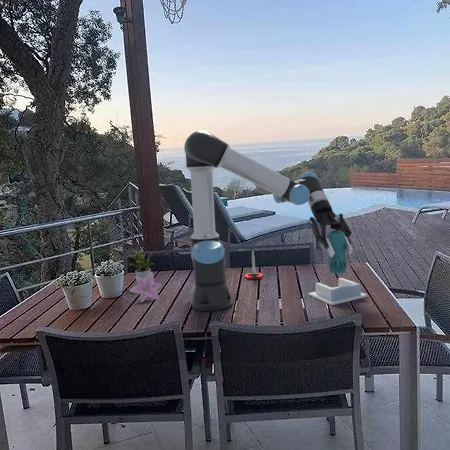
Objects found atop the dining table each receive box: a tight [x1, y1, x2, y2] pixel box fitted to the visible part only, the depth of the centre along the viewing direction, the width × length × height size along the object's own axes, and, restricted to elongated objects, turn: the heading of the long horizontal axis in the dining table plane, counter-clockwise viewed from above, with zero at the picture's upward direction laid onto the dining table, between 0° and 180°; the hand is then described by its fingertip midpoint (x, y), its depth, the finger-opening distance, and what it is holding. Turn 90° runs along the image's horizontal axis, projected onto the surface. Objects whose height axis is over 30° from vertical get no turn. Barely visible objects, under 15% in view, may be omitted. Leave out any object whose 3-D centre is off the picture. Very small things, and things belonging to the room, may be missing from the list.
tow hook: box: [244, 250, 264, 281], centre depth 196 cm, size 8×13×9 cm
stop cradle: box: [308, 277, 368, 306], centre depth 162 cm, size 16×14×5 cm
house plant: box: [127, 249, 155, 279], centre depth 200 cm, size 14×14×16 cm
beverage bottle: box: [327, 221, 347, 275], centre depth 160 cm, size 6×7×20 cm
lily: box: [128, 271, 162, 303], centre depth 177 cm, size 12×12×10 cm
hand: (341, 253), depth 157 cm, fingers closed on beverage bottle, 6 cm apart
